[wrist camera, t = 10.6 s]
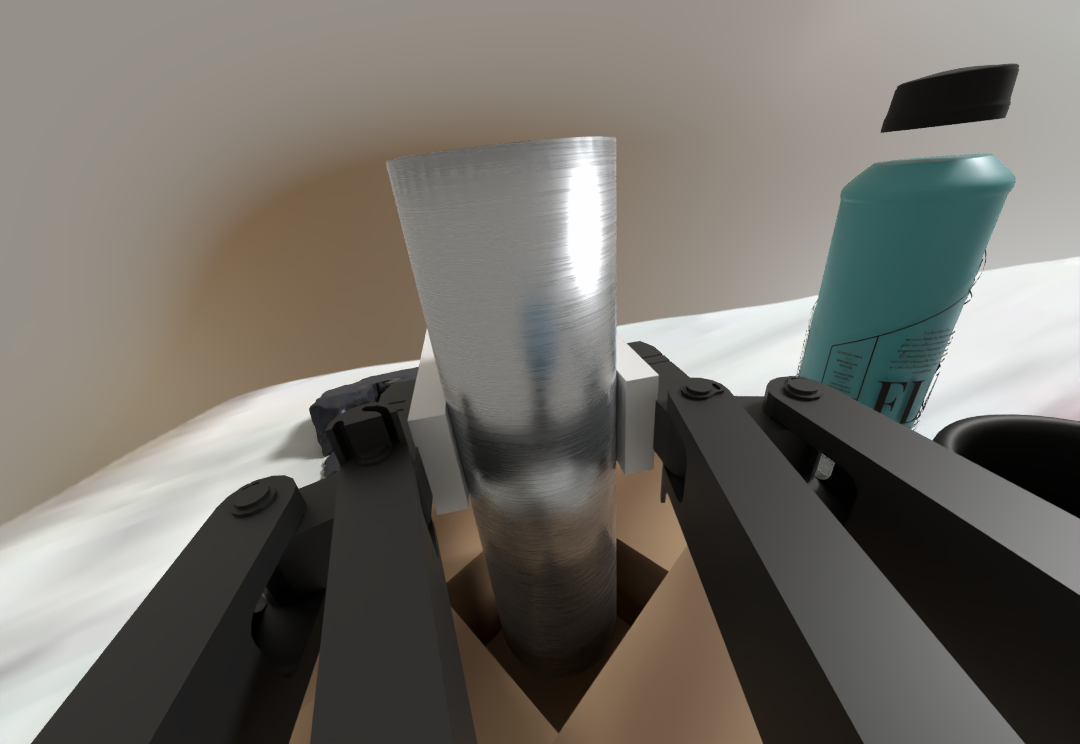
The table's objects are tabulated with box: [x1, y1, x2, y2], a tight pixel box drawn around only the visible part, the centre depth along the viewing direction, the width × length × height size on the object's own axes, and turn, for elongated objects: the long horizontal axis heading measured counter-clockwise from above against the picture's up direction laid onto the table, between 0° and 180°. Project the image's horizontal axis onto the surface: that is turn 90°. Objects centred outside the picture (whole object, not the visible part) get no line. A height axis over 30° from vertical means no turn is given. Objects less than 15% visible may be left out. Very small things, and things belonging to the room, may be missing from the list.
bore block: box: [289, 451, 763, 744], centre depth 14 cm, size 14×16×6 cm
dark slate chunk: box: [309, 367, 419, 477], centre depth 35 cm, size 15×22×5 cm
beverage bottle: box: [796, 64, 1019, 431], centre depth 21 cm, size 6×7×20 cm
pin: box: [386, 136, 616, 678], centre depth 10 cm, size 4×4×14 cm
